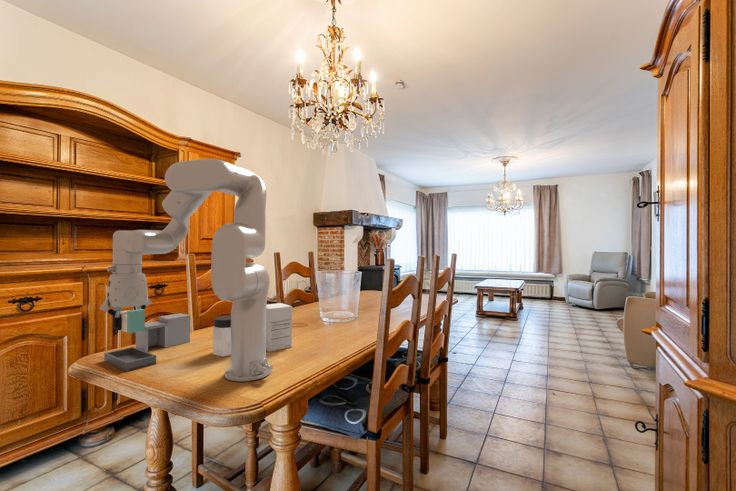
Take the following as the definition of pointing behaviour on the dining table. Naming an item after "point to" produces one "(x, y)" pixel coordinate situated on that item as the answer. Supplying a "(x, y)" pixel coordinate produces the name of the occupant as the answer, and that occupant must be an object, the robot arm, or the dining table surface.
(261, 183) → the robot arm
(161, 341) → the bay
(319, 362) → the dining table surface
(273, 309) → the supplement box
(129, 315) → the teal-capped white block
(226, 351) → the jar
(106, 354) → the tray
